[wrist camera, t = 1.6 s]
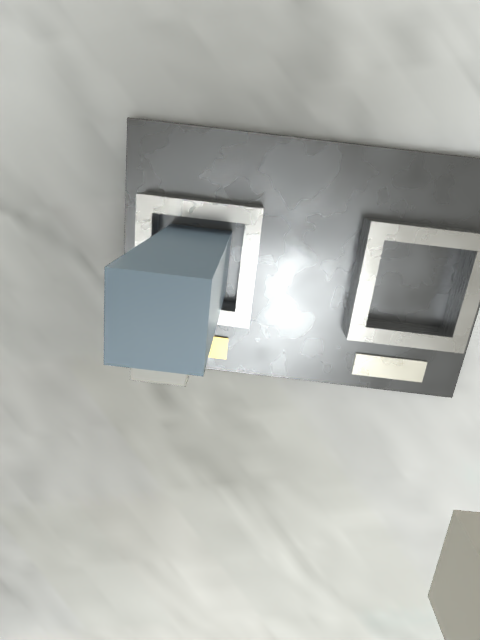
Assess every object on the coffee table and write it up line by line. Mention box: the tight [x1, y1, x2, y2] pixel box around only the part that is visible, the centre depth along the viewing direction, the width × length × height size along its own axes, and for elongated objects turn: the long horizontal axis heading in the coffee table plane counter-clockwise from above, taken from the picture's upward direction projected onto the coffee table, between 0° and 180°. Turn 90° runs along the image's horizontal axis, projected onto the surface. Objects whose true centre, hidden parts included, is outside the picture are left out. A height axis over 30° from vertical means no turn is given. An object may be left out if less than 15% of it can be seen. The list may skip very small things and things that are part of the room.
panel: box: [124, 118, 480, 398], centre depth 29 cm, size 24×16×3 cm, turn 84°
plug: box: [104, 224, 232, 387], centre depth 23 cm, size 4×5×13 cm
